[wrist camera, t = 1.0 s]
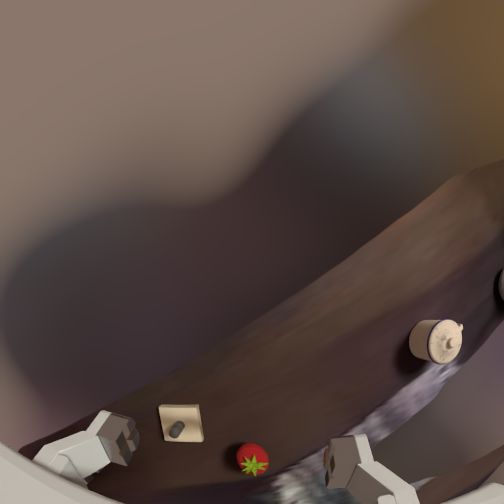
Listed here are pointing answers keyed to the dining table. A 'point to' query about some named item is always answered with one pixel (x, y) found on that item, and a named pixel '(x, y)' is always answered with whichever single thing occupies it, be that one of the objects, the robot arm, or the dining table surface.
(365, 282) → the dining table surface
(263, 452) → the strawberry
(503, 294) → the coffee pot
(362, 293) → the dining table surface
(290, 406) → the dining table surface
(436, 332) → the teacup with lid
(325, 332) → the dining table surface
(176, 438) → the block
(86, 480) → the white square box
